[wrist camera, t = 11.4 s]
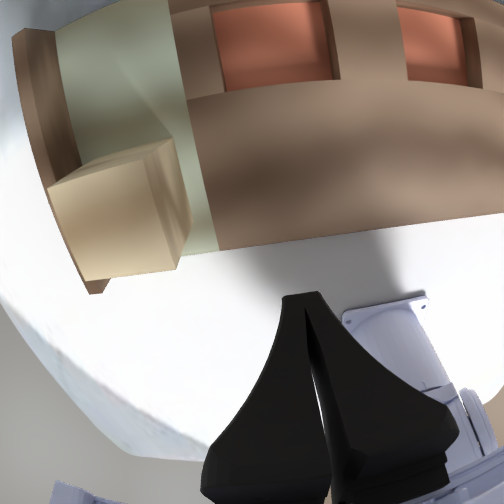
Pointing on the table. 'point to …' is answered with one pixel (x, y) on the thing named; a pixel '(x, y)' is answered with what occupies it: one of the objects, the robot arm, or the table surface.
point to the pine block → (125, 212)
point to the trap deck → (280, 109)
